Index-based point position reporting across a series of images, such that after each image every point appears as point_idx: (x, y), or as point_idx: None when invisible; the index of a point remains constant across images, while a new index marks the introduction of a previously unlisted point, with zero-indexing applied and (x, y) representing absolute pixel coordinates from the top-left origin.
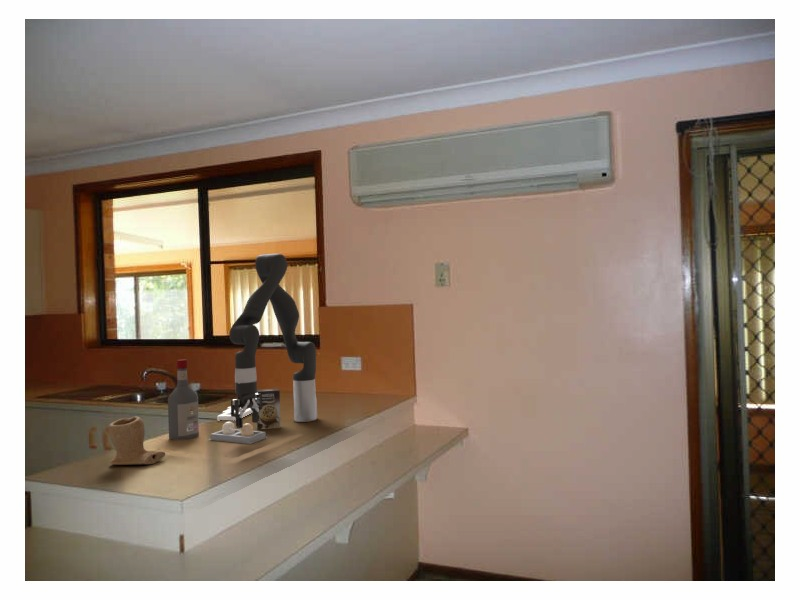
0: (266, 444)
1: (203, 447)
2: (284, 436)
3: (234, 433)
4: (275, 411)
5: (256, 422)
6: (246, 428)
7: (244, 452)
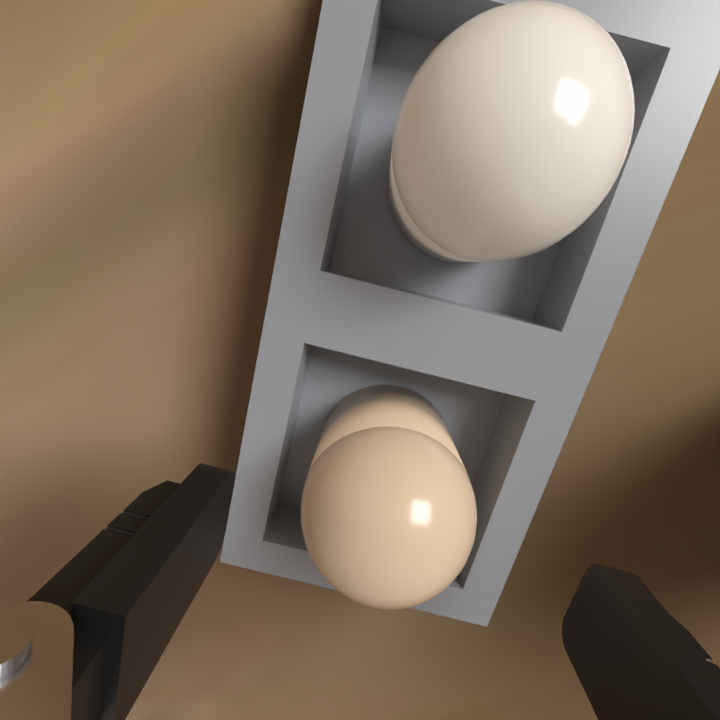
0: None
1: (188, 9)
2: None
3: (395, 303)
4: None
5: (564, 629)
6: (309, 548)
7: (120, 513)
